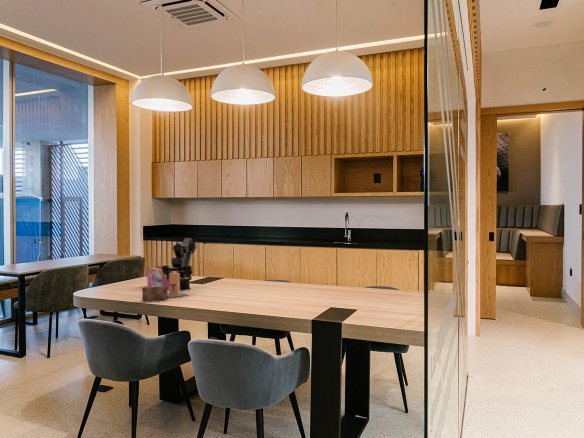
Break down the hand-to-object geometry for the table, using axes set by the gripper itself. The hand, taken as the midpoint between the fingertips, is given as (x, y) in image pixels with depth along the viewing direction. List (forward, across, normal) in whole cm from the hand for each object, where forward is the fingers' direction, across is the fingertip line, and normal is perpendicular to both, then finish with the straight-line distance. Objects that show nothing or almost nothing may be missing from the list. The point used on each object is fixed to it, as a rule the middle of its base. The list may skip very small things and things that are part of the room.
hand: (175, 280), depth 284 cm
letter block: (+7, 0, +5) cm, 9 cm away
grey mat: (+7, 0, +6) cm, 9 cm away
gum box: (-15, -19, +30) cm, 39 cm away
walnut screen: (+18, -8, -4) cm, 20 cm away
